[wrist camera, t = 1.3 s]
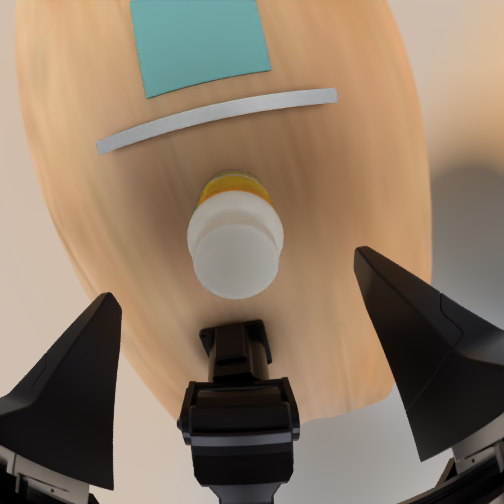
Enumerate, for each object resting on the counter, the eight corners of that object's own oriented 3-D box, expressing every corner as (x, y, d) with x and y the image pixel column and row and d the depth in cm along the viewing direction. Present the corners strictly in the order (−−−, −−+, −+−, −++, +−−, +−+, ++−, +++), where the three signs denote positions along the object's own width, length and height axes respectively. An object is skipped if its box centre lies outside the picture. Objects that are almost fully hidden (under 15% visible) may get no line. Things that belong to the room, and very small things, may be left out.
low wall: (323, 103, 18) (338, 102, 15) (115, 149, 18) (98, 155, 16) (321, 91, 18) (335, 87, 15) (112, 137, 18) (95, 141, 15)
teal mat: (270, 70, 17) (271, 69, 16) (148, 98, 17) (146, 98, 17) (247, -25, 13) (247, -27, 12) (131, 3, 13) (129, 1, 12)
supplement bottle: (270, 231, 23) (294, 306, 14) (204, 238, 22) (189, 316, 14) (266, 165, 20) (294, 204, 12) (194, 172, 20) (167, 217, 11)
